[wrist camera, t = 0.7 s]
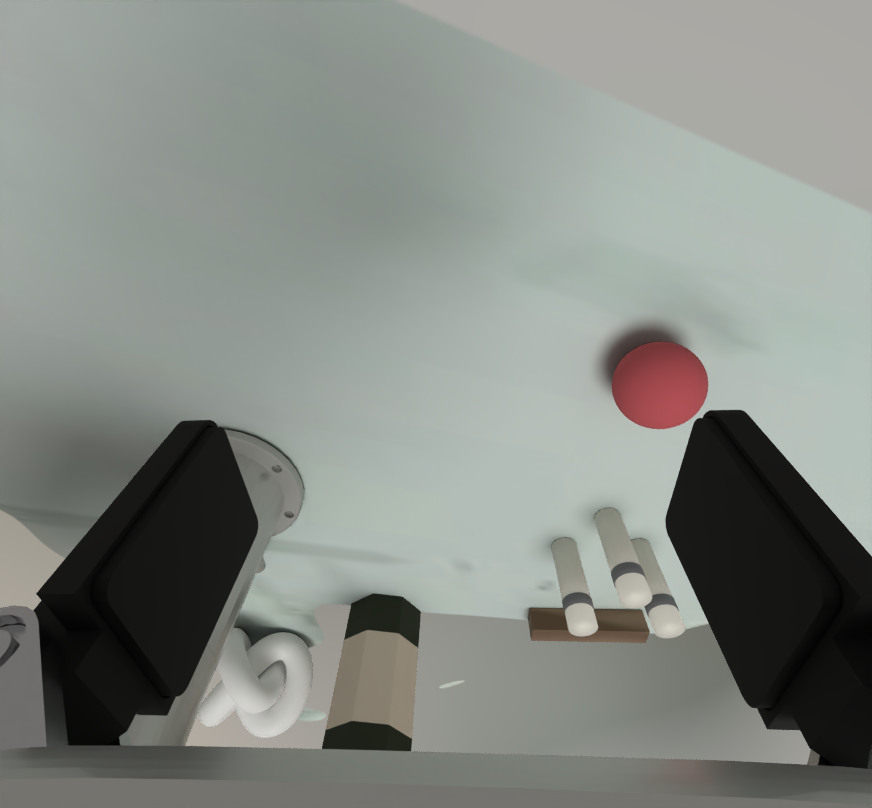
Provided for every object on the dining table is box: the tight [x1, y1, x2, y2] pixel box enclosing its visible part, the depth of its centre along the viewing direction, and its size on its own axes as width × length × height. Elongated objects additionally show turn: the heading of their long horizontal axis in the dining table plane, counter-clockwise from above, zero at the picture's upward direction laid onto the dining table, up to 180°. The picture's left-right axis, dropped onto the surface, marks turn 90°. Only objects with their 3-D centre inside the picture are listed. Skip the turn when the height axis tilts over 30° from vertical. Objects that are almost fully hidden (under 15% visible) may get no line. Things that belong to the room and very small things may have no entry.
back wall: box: [528, 608, 650, 643], centre depth 51 cm, size 2×12×2 cm, turn 92°
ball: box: [612, 342, 708, 429], centre depth 33 cm, size 6×6×6 cm
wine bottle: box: [322, 594, 421, 751], centre depth 41 cm, size 8×8×30 cm
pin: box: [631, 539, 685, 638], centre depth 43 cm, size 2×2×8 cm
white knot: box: [198, 628, 313, 738], centre depth 54 cm, size 11×12×9 cm
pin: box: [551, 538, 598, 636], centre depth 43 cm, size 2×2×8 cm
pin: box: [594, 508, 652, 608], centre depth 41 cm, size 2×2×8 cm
